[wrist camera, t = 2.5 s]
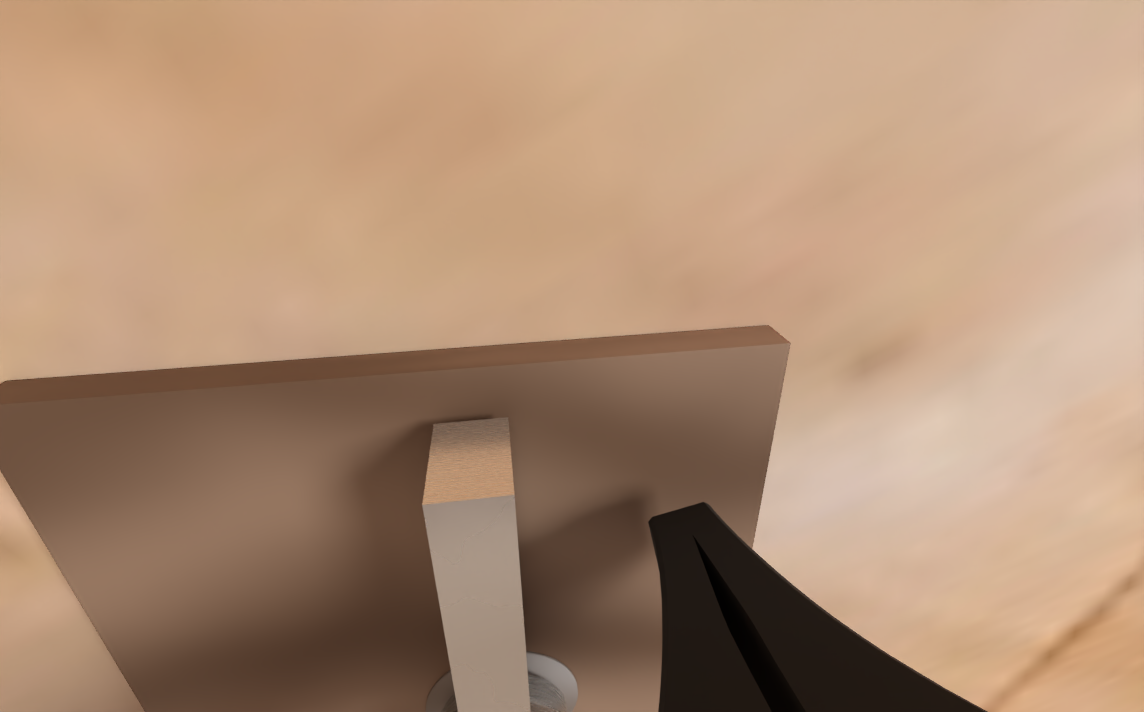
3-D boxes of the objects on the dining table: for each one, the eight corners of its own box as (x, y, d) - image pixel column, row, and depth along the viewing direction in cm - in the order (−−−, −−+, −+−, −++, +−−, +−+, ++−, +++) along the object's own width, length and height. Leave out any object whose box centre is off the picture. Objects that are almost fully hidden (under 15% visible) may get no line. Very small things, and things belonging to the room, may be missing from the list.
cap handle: (567, 740, 16) (579, 837, 14) (446, 761, 16) (441, 864, 14) (558, 412, 11) (577, 487, 9) (380, 429, 11) (355, 511, 9)
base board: (700, 742, 20) (737, 852, 17) (239, 823, 18) (193, 964, 15) (769, 325, 13) (855, 395, 10) (-6, 381, 11) (-190, 492, 8)
